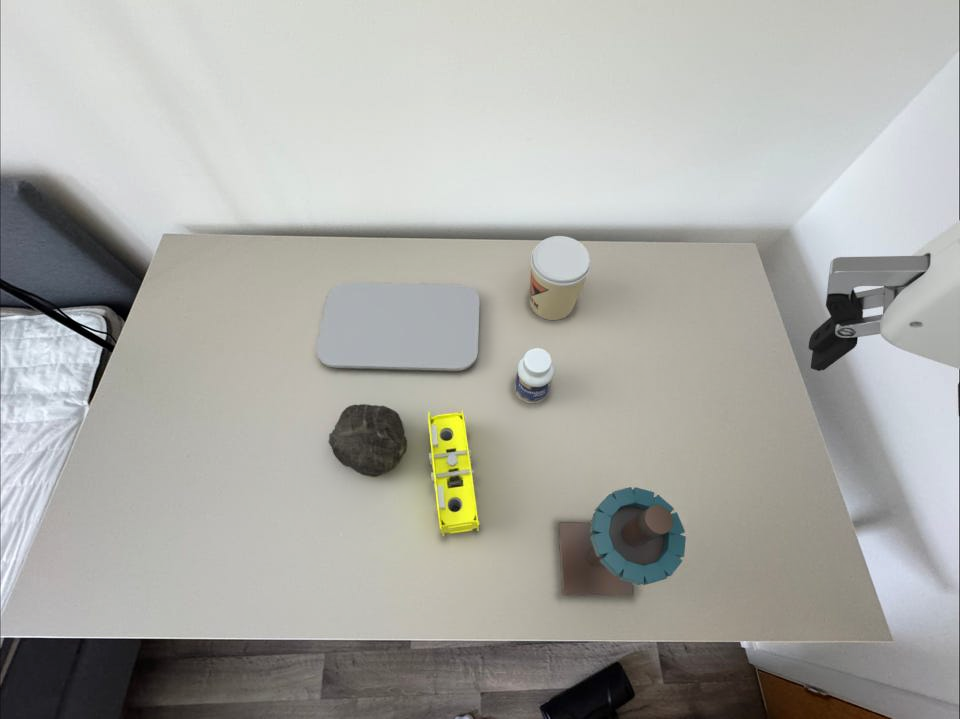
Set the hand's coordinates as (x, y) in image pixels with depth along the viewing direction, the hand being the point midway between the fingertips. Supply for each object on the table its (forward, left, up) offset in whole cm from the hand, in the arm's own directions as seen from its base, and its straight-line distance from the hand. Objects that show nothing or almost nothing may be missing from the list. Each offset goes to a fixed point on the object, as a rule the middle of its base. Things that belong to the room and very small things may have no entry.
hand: (888, 377), depth 35 cm
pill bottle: (+26, -8, -41) cm, 49 cm away
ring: (+9, +12, -21) cm, 26 cm away
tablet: (+50, -9, -41) cm, 65 cm away
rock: (+44, +11, -41) cm, 61 cm away
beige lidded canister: (+29, -25, -41) cm, 56 cm away
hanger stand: (+9, +12, -40) cm, 43 cm away
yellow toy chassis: (+31, +10, -41) cm, 52 cm away
